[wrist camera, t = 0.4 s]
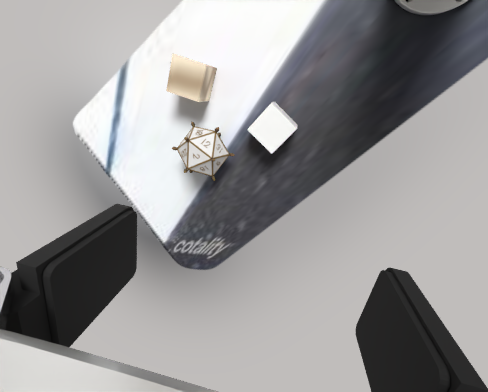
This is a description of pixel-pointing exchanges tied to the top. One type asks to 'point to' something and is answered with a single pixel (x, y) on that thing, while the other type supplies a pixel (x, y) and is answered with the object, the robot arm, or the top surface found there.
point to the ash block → (190, 79)
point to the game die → (203, 151)
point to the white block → (272, 127)
